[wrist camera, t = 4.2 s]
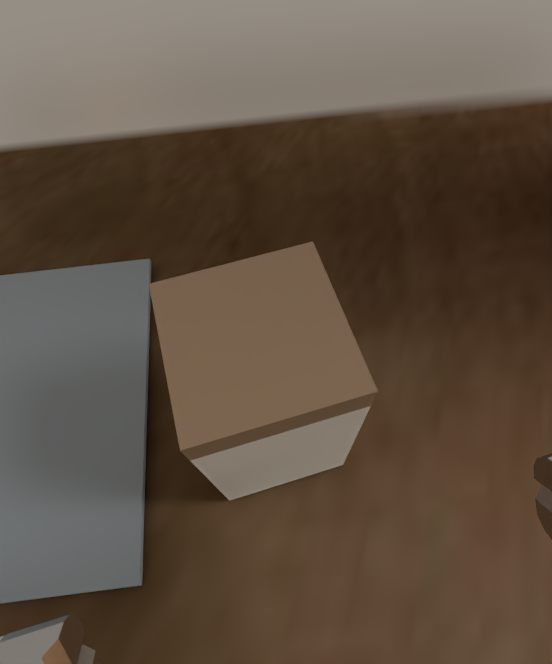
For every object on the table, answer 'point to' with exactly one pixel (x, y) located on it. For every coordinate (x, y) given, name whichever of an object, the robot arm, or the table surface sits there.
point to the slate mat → (73, 428)
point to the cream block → (261, 369)
